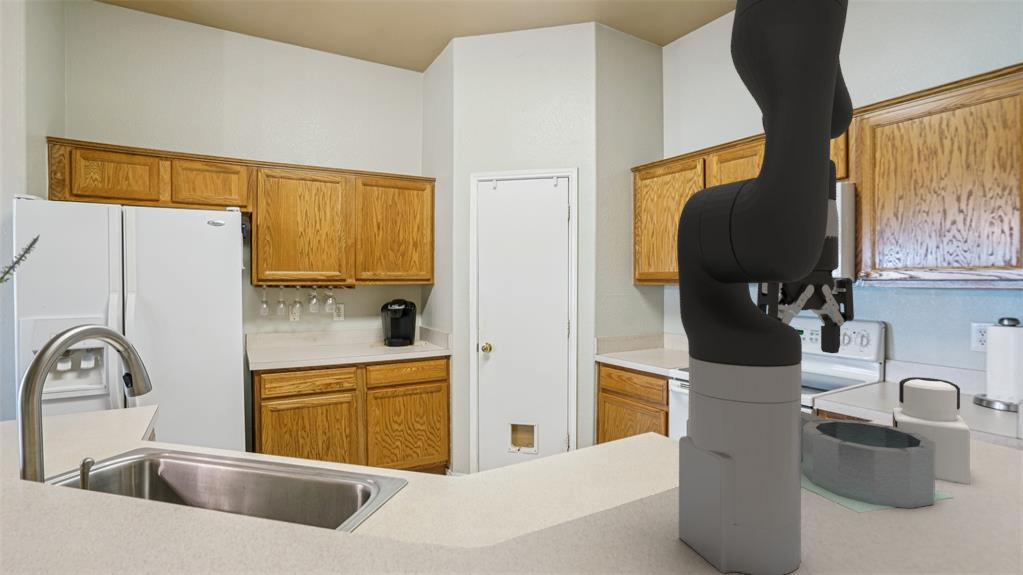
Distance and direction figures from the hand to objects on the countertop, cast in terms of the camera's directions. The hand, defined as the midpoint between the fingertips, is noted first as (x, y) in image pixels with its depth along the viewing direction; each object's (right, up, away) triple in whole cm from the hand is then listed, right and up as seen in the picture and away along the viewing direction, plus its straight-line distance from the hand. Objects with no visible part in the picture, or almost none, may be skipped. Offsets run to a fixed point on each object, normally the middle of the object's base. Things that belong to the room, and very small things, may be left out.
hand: (805, 353), depth 67 cm
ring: (+2, -14, -6) cm, 16 cm away
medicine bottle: (+14, -15, -3) cm, 21 cm away
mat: (0, -15, -6) cm, 16 cm away
